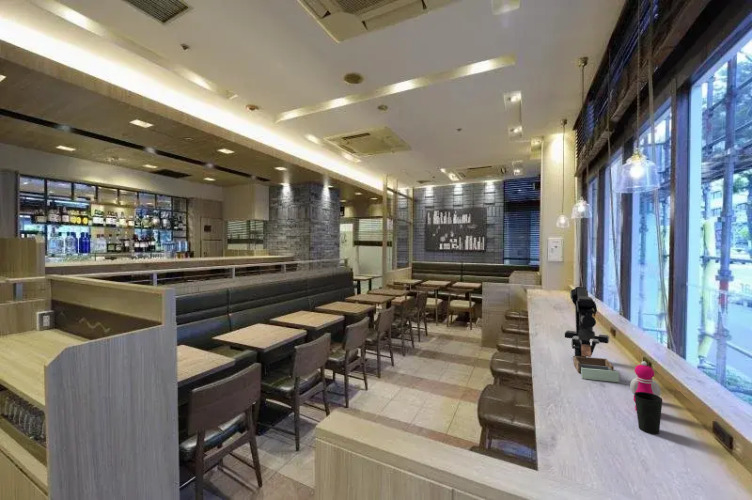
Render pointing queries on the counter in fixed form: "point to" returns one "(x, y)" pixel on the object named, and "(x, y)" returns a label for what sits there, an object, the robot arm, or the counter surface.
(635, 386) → the donut
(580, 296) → the robot arm
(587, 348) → the block
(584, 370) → the tray
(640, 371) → the pepper mill
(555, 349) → the counter surface
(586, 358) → the sleeve
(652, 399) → the cup
